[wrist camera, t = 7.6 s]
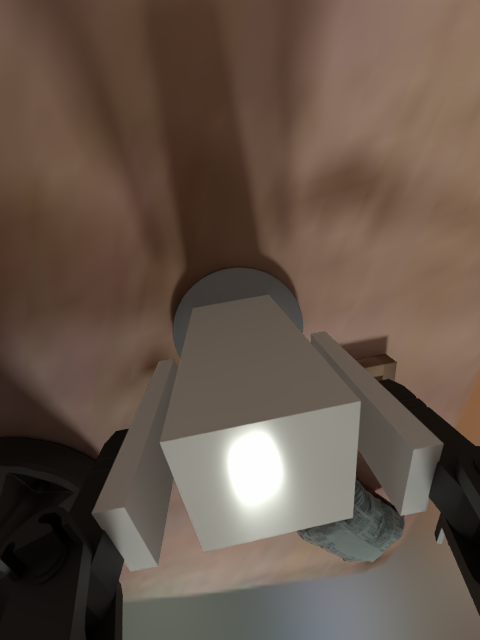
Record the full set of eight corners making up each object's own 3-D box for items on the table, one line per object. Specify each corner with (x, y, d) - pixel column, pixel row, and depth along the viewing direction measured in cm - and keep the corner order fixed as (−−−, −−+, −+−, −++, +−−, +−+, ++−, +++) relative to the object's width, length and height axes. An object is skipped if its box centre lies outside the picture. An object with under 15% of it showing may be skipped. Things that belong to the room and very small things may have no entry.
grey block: (208, 372, 17) (203, 552, 7) (192, 308, 15) (159, 442, 5) (275, 359, 17) (352, 517, 8) (268, 294, 15) (360, 400, 6)
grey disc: (191, 390, 18) (190, 397, 17) (159, 279, 15) (156, 281, 14) (302, 369, 18) (305, 375, 18) (295, 255, 15) (299, 257, 14)
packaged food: (331, 530, 28) (354, 589, 23) (267, 492, 24) (279, 553, 19) (390, 491, 26) (428, 546, 22) (331, 444, 22) (362, 498, 18)
